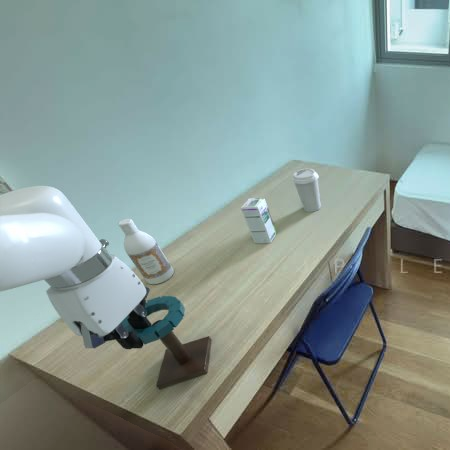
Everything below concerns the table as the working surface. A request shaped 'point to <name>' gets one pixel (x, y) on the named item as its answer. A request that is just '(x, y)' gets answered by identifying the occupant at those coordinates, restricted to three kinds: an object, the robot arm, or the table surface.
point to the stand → (182, 359)
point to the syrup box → (259, 220)
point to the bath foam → (145, 253)
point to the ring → (164, 325)
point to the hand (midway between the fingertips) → (140, 339)
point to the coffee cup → (307, 189)
